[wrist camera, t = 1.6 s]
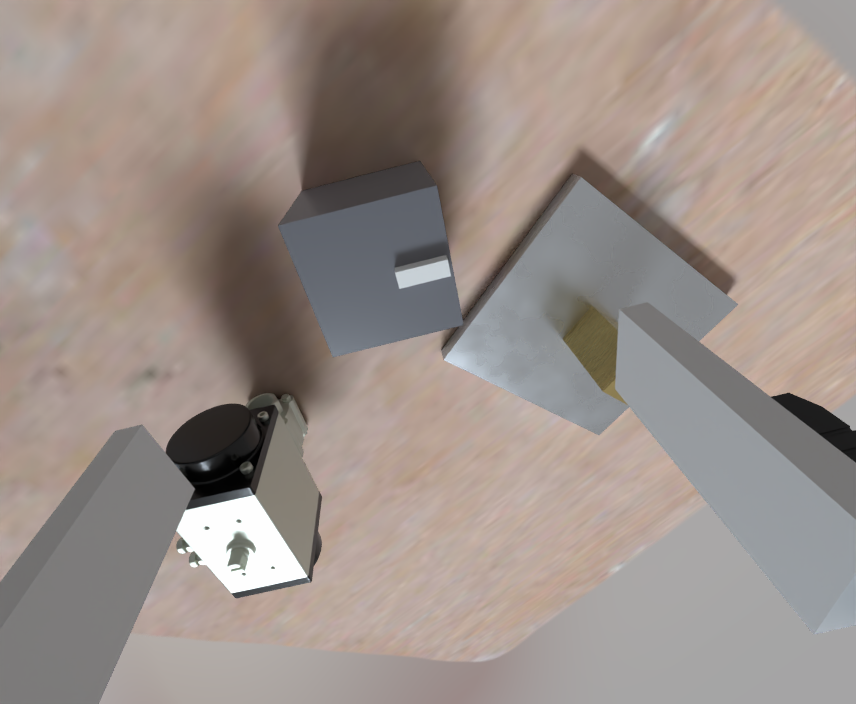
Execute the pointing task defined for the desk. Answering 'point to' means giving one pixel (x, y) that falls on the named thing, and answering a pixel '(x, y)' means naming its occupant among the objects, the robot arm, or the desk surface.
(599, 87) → the desk surface
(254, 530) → the pneumatic valve
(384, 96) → the desk surface
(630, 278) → the grey peg base
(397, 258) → the grey cabinet with handle
